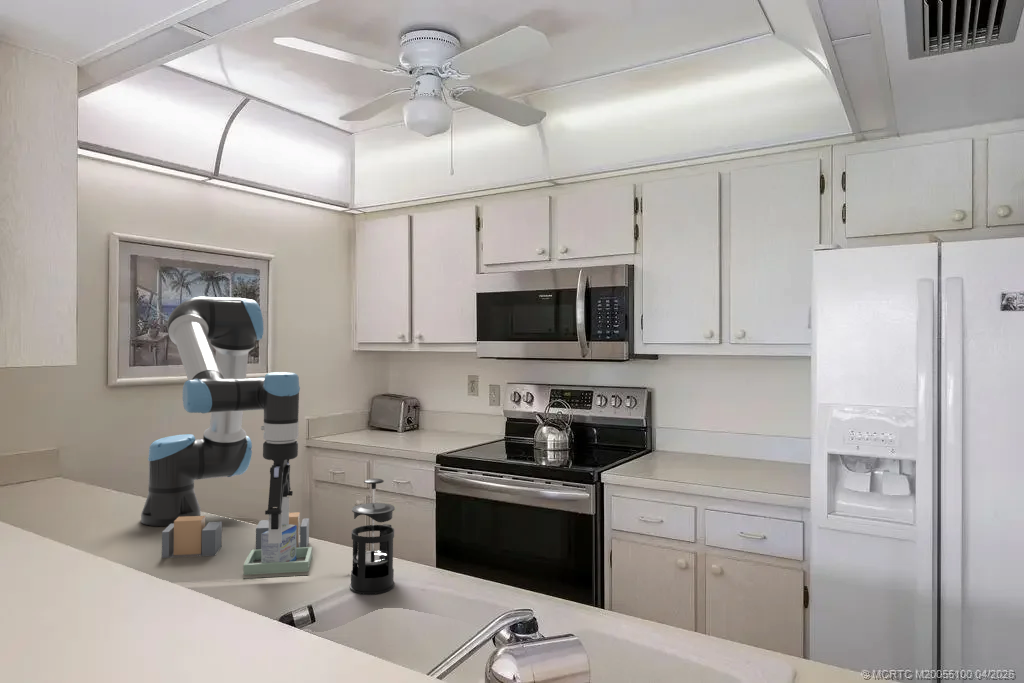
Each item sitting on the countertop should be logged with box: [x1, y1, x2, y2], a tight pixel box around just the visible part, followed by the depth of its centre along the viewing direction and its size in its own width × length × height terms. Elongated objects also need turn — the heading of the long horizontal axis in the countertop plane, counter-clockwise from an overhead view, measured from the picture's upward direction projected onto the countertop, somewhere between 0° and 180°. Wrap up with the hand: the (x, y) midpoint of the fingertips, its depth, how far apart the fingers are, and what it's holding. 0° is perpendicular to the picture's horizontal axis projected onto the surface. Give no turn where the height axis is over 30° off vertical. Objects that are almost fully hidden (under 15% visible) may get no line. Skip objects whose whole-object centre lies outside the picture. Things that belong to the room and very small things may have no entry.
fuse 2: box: [289, 511, 301, 547], centre depth 167 cm, size 4×6×8 cm, turn 102°
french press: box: [349, 478, 396, 596], centre depth 146 cm, size 12×9×23 cm
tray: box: [242, 546, 313, 580], centre depth 155 cm, size 11×14×3 cm
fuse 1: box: [174, 515, 206, 555], centre depth 162 cm, size 4×6×8 cm, turn 102°
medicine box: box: [260, 524, 297, 563], centre depth 155 cm, size 8×4×9 cm, turn 169°
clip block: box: [161, 517, 310, 559], centre depth 165 cm, size 7×32×7 cm, turn 102°
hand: (279, 533), depth 155 cm, fingers open, 13 cm apart
